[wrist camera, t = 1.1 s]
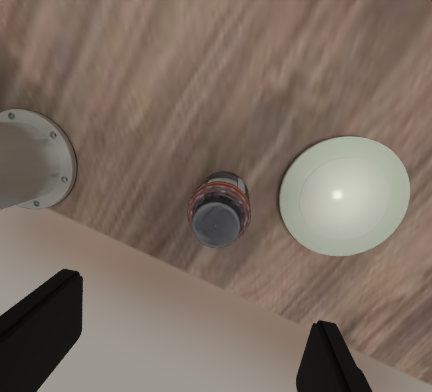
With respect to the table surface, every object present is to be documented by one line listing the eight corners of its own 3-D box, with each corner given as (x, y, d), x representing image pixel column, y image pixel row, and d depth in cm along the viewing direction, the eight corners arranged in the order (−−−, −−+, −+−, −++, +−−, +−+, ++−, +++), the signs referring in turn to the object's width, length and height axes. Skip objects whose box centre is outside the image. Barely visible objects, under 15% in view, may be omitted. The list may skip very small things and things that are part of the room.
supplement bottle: (239, 223, 32) (237, 270, 21) (194, 207, 32) (170, 246, 21) (255, 179, 30) (263, 205, 19) (209, 163, 30) (190, 181, 19)
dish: (316, 269, 32) (320, 276, 31) (255, 182, 30) (256, 185, 29) (423, 211, 29) (433, 215, 28) (363, 110, 27) (370, 108, 26)
